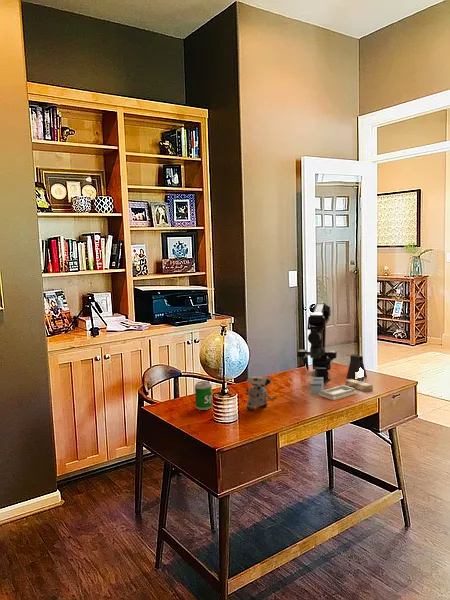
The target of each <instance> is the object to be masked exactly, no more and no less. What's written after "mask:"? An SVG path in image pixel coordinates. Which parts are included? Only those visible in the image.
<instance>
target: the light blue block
mask: <svg viewBox="0 0 450 600" xmlns="http://www.w3.org/2000/svg"><path fill="white" fill-rule="evenodd" d="M320 390H322V391H323V390H324V380H323V377H315V376H313V377H312V381H311V383H310V394H317V395H319V393H320Z"/></svg>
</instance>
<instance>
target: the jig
mask: <svg viewBox="0 0 450 600" xmlns="http://www.w3.org/2000/svg"><path fill="white" fill-rule="evenodd" d="M353 394H354V395H356V394H357V391H356V388H353V387H350V386H347V385H346V384H341V385H338V386H334V387H331V388H327V389H323V391H322V390H320V393H319V394H318V396H320V397H323V398H326V399H329V400H331V401H337V400H340V399H344V398H347V397H350V395H351V396H354V395H353Z"/></svg>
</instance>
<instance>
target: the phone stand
mask: <svg viewBox="0 0 450 600" xmlns="http://www.w3.org/2000/svg"><path fill="white" fill-rule="evenodd" d="M349 359H350V362H349V364H348V370H347V373H346V378H347V379H350V378H351V379H355V372H358V371H359V368H360V367H361V368H362V369H363V370H364V376H365V378H367V377H368V376H367V372H366V369H365V364H364V358H363V356H361V355H357V354H351V355H350V358H349Z"/></svg>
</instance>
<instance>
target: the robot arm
mask: <svg viewBox="0 0 450 600" xmlns="http://www.w3.org/2000/svg"><path fill="white" fill-rule="evenodd" d="M331 313H332V312H331V306H329V305H327V304H326V302H316V303H315V306H314V307H313V312H312V313H310V314H309V316H308V318H307V330H309V331H310V333H309V334H308V336H307V340H308V343H310V348H309V351H308V350H307V349H298V351H297V352H296V357H297V358H299V359H300V360H302V361H303V364H304V365H305V368H306V370H307V372H308V371H309V361H308V356H309V357H310V358H311V359H312V358H313V359H312V370H313V371H314V377H323V380H324V382H325V383H326V382H330V381H331V379H330V378H329V370H331V369H332V366H331V364H332V363H331V364H330V361H331V360H333V361H334V359H337V357H338V355H337V354H338V353H337V352H338V351H337V350H334V349H332V350H331V349H329V350H328V351H326V340H327V339H326V335H327V333H326V332H327V324H328V322H329V321H330V317H331V316H332V315H331ZM325 351H326V352H325Z"/></svg>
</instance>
